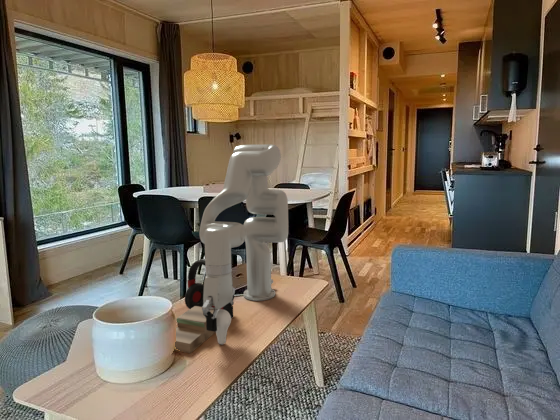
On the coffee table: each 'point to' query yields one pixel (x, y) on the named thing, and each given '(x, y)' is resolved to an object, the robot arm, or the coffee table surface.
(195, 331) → the stand
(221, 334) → the lightbulb
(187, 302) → the headphones
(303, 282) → the coffee table surface
